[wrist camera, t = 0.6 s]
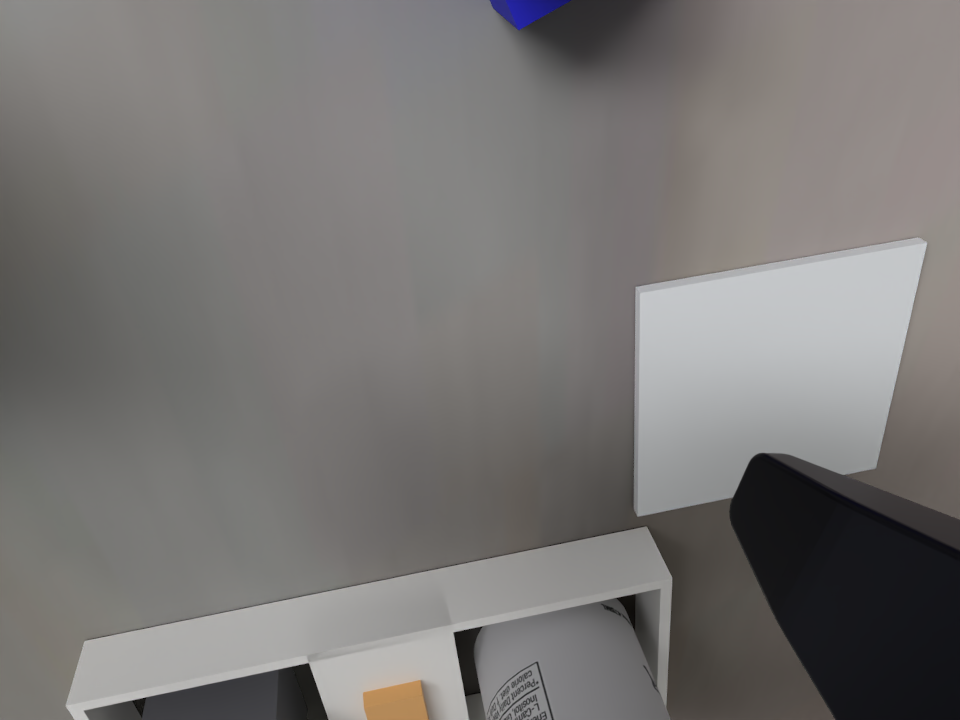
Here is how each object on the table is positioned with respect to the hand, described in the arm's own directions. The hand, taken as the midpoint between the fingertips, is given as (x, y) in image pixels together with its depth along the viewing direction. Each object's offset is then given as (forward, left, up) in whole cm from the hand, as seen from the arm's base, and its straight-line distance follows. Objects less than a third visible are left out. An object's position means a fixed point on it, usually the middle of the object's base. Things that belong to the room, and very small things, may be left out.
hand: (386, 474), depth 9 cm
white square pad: (+12, -10, -13) cm, 21 cm away
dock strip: (-2, -20, -13) cm, 24 cm away
